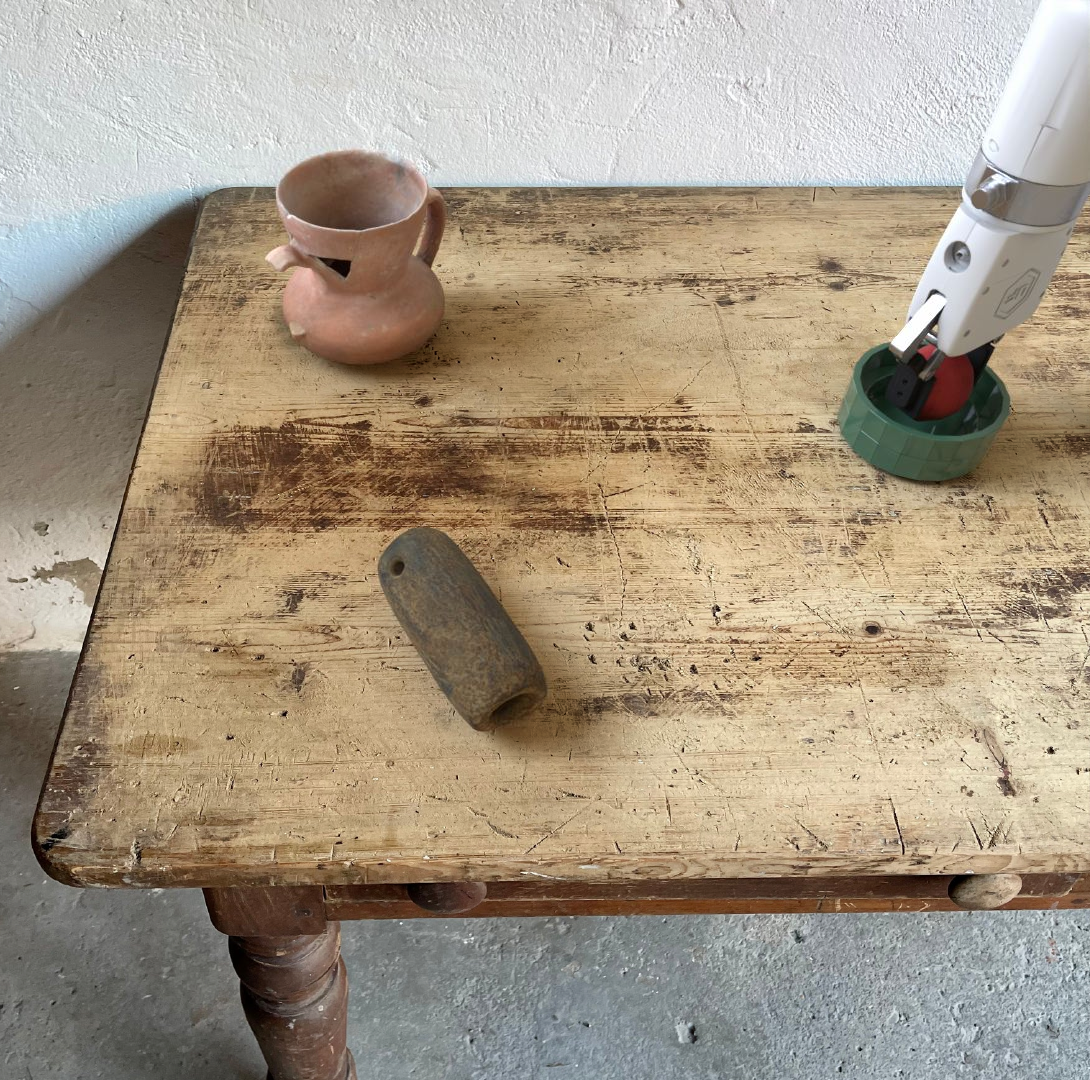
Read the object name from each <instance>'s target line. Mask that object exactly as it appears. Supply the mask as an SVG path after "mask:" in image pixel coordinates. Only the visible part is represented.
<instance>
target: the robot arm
mask: <svg viewBox="0 0 1090 1080" xmlns="http://www.w3.org/2000/svg"><path fill="white" fill-rule="evenodd" d="M1089 196H1090V0H1040V2H1039V5H1038V7H1037V10H1036V12H1035V13H1034V16H1033V18H1032V21H1031V23H1030V26H1029V28H1028V30H1027V33H1026V35H1025V38H1024V40H1023V43H1022V45H1021V48H1020V50H1019V52H1018V54H1017V57H1016V59H1015V61H1014V64H1013V66H1012V68H1011V71H1010V73H1009V75H1008V78H1007V81H1006V83H1005V86H1004V87H1003V90H1002V92H1001V95H1000V98H999V100H998V102H997V105H996V107H995V110H994V112H993V114H992V117H991V119H990V122H989V124H988V126H987V129H986V131H985V134H984V136H983V138H982V141H981V143H980V146H979V148H978V151H977V152H976V155H975V157H974V160H973V162H972V165H971V167H970V169H969V172H968V175H967V177H966V179H965V182H964V184H963V186H962V188H961V197H962V201H961V203H960V204H959V206H958V207H957V209H956V211H955V213H954V214H953V216H952V218H951V219H950V221H949V223H948V225H947V227H946V229H945V230H944V232H943V234H942V235H941V238H940V239H939V241H938V244H937V245H936V247H935V249H934V251H933V253H932V255H931V257H930V258H929V259H930V260H929V261H928V263H927V265H926V267H925V270H924V272H923V274H922V276H921V278H920V280H919V282H918V285H917V287H916V289H915V291H914V294H913V297H912V300H911V302H910V305H909V308H908V311H907V314H906V318H905V326H904V327H903V328H902V330H901V331H900V332H899V333H898V334H897V336H895V337H894V338H893V340H892V341H891V342H892V343H891V344H890V346H889V350H890V351H891V352H892V353H893V354H894V355H895V358H896V362H898V365H897V368H896V370H895V372H894V375H893V377H892V379H891V382H890V384H889V386H888V389H887V391H886V393H885V398H886V400H887V401H889V402H890V403H891V404H893V405H894V406H895V407H897V408H898V409H899V410H901V411H902V412H903V413H905V414H906V415H907V416H909V417H910V418H912V419H914V418H916V417H918V416H920V414H921V412H922V410H923V408H924V406H925V404H926V401H927V399H928V397H929V395H930V393H931V391H932V389H933V387H934V385H935V382H936V380H937V378H936V377H935V376H934V375H933V374H934V373H935V372H936V370H937V369H938V367H939V366H940V364H941V363H942V361H943V360H944V358H945V357H946V355H947V356H949V357H955V356H959V355H963V354H966V355H967V357H968V359H969V361H970V363H971V365H972V366H973V372H974V383H973V386H975V385H976V384H977V382H978V381H979V379H980V377H981V375H982V373H983V371H984V369H985V367H986V365H987V366H988V363H989V361H990V360H991V357H992V356H993V353H994V351H995V349H996V347H995V346H994V345H997V344H999V343H1000V342H1001V341H1002V340H1003V339H1004V337H1005V335H1006V333H1008V332H1009V331H1012V330H1014V329H1015V328H1017V327H1019V326H1022V324H1024V323H1025V322H1027V321H1028V320H1029V319H1030V318H1031V317H1032V316H1033V315H1034V314H1035V312H1036V311H1037V309H1038V308H1039V306H1040V304H1041V302H1042V300H1043V297H1044V296H1045V294H1046V292H1047V290H1048V287H1049V286H1050V283H1051V282H1052V280H1053V277H1054V275H1055V273H1056V271H1057V268H1058V267H1059V265H1060V262H1061V260H1062V258H1063V256H1064V253H1065V251H1066V249H1067V247H1068V244H1069V242H1070V241H1071V240H1070V239H1071V238H1072V237H1071V236H1072V234H1073V232H1074V229H1075V226H1076V224H1077V221H1078V217H1079V215H1080V214H1081V212H1082V210H1083V208H1084V206H1085V204H1086V202H1087V201H1088V198H1089ZM936 326H937V331H936V330H934V328H935V327H936ZM923 340H926V341H927V342H929V343H930V344H932V345H933V346H935V347H936V349H935V350H934V352H933V353H932V355H931V356H930V358H929V359H928V361H927V360H926V358H925V357H924V356H923V355H922V354H921V353H919V350H918V347H919V346H920V344H921V343H922V341H923Z"/></svg>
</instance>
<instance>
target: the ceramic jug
mask: <svg viewBox="0 0 1090 1080" xmlns="http://www.w3.org/2000/svg"><path fill="white" fill-rule="evenodd" d="M275 198H276V199H275V200H276V204H277V205H276V206H277V209H278V213H279V215H280V218H281V220H282V223H283V225H284V227H285V230H286V233H287V234H288V236H289V244H285V245H280V246H277V247H275V248H274V249H272V250H271V251H270V252H268V254H266V255H265V258H264V259H265V262H266V263H267V264H268V265H269V266H270V268H271V269H272V270H274V271H276V272H279V273H285V272H286V271H287V270H288V269H290V268H293V267H297V269H295V271H294V272H293V273H292V274H291V276H290V278H289V279H288V281H287V284H286V286H285V288H284V291H283V295H282V300H281V301H282V302H281V305H282V307H281V308H282V314H283V317H284V320H285V323H286V326H287V327H288V329H289V330H290V334H291V337H292V339H293V341H294V342H295V343H297V344H298V345H299V346H301V347H303V348H304V349H305V350H307V351H308V352H311V353H312V354H314V355H316V356H318V357H321V358H323V359H326V360H328V361H332V362H335V363H336V362H337V363H341V364H347V365H348V364H349V365H375V364H382V363H385V362H390V361H393V360H396V359H399V358H401V357H404V356H407V355H408V354H411V353H412V352H414V351H416V350H417V349H419V348H420V347H422V346H423V345H424V344H426V342H427V341H429V340H430V338H431V337H432V336H433V335H434V334H435V333H436V331H437V330H438V328H439V326H440V324H441V322H442V320H443V317H444V313H445V309H446V298H445V297H446V296H445V292H444V291H445V290H444V289H443V286H442V284H441V281H440V279H439V277H438V276H437V275H436V272H434V270H433V269H432V267H433V266H432V265H433V264H434V261H435V258H436V257H437V254H438V252H439V250H440V246H441V242H442V240H443V237H444V232H445V230H446V229H445V228H446V221H447V206H446V202H445V199H444V197H443V195H442V194H441V192H440V191H439V190H438V189H437V188H435V187H432V186H429V183H428V180H427V178H426V176H425V174H424V173H423V172H422V171H420V169H419V167H418V166H417V165H416V164H414V163H413V162H412V161H410V160H409V159H407V158H405V157H403V156H400V155H397V154H393V153H391V152H387V151H384V150H380V149H371V148H370V149H367V148H366V149H365V148H350V149H347V148H346V149H341V150H331V151H326V152H325V151H324V152H323V153H320V154H316V155H312V156H310V157H307V158H306V159H304V160H302V161H299V162H297V163H295V164H294V165H293V166H292V167H291V168H290V169H288V170H287V171H286V172H285V173H284V174H282V176H281V178H280V179H279V181H278V183H277V185H276V189H275ZM423 227H424V228H423ZM422 230H423V233H422V235H421V232H422ZM420 235H421V241H420V244H419V248H418V250H417V252H416V255H414V254H413V253H414V250H415V248H416V246H417V243H418V240H419V237H420Z"/></svg>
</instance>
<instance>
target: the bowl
mask: <svg viewBox="0 0 1090 1080" xmlns="http://www.w3.org/2000/svg"><path fill="white" fill-rule="evenodd" d="M891 343H892V341H888V342H883V343H880V344H878V345H876V346H874V347H872V348H870V349H868V350H866V351H865V352H864V353H863V355H861V357H860V358H859V359H858V360H857V361H856V362H855V364H854V366H853V370H852V371H851V375H850V377H849V380H848V382H847V386H846V388H845V391H844V393H843V396H842V399H841V401H840V403H839V408H838V414H837V416H836V417H837V422H838V426H839V430H840V434H841V436H842V437H843V439H844V441H846V443H847V444H848V446H849V447H850V448H851V450H852V451H854V452H855V453H856V454H857V455H859V456H860V457H861V458H862V459H864V460H865V461H866V462H867V463H869V464H870V465H873V466H875V467H877V468H879V469H880V470H884V471H885V472H887V473H889V474H892V475H895V476H899V477H903V478H906V479H911V480H915V481H929V482H930V481H931V482H943V481H947V480H951V479H956V478H961V477H964V476H965V475H967V474H969V473H970V472H972V471H973V470H975V469H977V468H978V467H979V466H980V465H981V463H982V462H983V460H984V459H985V458H986V456H987V455H988V453H989V452H990V449H991V448H992V446H993V445H994V443H995V441H996V439H997V437H998V435H999V434H1000V432H1001V430H1002V428H1003V426H1004V425H1005V423H1006V422H1007V420H1008V418H1009V416H1010V409H1011V397H1010V394H1009V391H1008V389H1007V387H1006V385H1005V384H1006V383H1005V382H1004V381H1003V380H1002V378H1001V377H999V375H998V374H997V373H996V372H995V371H994V370H993V369H992V367H990V366H989V365H988V364H987V365H986V367H985V369H984V371H983V373H982V375H981V377H980V379H979V381H978V382H977V384H976V385H975V386H973V389H972V392H971V395H970V397H969V398H968V400H967V401H966V403H965V404H964V405H963V407H962V408H961V409H960V410H959V411H958V412H956V413H955V414H953V415H951V416H949V417H947V418H944V419H942V420H934V421H923V422H917V421H914V420H913V419H912V418H910V417H909V416H907V415H906V414H905V413H903V412H902V411H901V410H899V409H898V408H897V407H895V406H894V405H893V404H891V403H890V402H889V401H887V400H886V398H885V393H886V391H887V389H888V386H889V384H890V382H891V379H892V377H893V375H894V372H895V370H896V368H897V365H898V362H896V358H895V355H894V354H893V353H892V352H891V351H890V350H889V346H890V344H891ZM927 345H931V344H930V343H929V342H927V341H926V340H923V341H922V343H921V344H920V346H919V347H918V350H919V349H921V348H922V347H924V346H927Z"/></svg>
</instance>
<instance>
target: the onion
mask: <svg viewBox="0 0 1090 1080" xmlns="http://www.w3.org/2000/svg"><path fill="white" fill-rule="evenodd" d="M935 349H936V347H935V346H933V345H932V344H931V345H927V346H924V347H922V348H921V349H919V353H921V354H922V355H923V356H924V357H925V358H926V360H927V361H928V359H929V358H930V356H931V355H932V353H933V352H934V350H935ZM933 375H934V376H935V377H936V378H937V380H936V382H935V385H934V387H933V389H932V391H931V393H930V395H929V397H928V399H927V401H926V404H925V406H924V408H923V410H922V412H921V414H920V416H918V417H916V418H914V419H913V420H914V421H917V422H923V421H934V420H942V419H944V418H947V417H949V416H951V415H953V414H955V413H956V412H958V411H959V410H960V409H961V408H962V407H963V405H964V404H965V403H966V401H967V400H968V398H969V397H970V395H971V392H972V389H973V383H974V372H973V366H972V365H971V363H970V361H969V359H968V357H967V355H966V354H963V355H959V356H955V357H949V356H947V355H946V357H945V358H944V360H943V361H942V363H941V364H940V366H939V367H938V369H937V370H936V372H935V373H934V374H933Z"/></svg>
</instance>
